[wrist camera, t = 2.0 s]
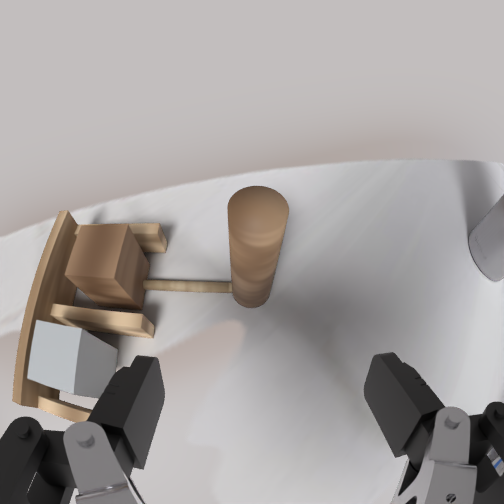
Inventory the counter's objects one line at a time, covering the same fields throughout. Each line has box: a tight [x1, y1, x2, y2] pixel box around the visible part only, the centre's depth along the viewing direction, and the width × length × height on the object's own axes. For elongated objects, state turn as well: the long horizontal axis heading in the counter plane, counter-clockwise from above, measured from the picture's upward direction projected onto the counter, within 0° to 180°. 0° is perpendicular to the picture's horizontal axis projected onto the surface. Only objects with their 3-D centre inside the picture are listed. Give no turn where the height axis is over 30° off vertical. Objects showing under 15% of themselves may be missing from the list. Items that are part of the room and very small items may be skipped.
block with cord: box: [65, 186, 289, 310], centre depth 21 cm, size 17×5×12 cm, turn 90°
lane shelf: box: [12, 210, 167, 423], centre depth 21 cm, size 11×20×6 cm, turn 0°
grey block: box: [27, 320, 118, 398], centre depth 18 cm, size 5×5×7 cm
